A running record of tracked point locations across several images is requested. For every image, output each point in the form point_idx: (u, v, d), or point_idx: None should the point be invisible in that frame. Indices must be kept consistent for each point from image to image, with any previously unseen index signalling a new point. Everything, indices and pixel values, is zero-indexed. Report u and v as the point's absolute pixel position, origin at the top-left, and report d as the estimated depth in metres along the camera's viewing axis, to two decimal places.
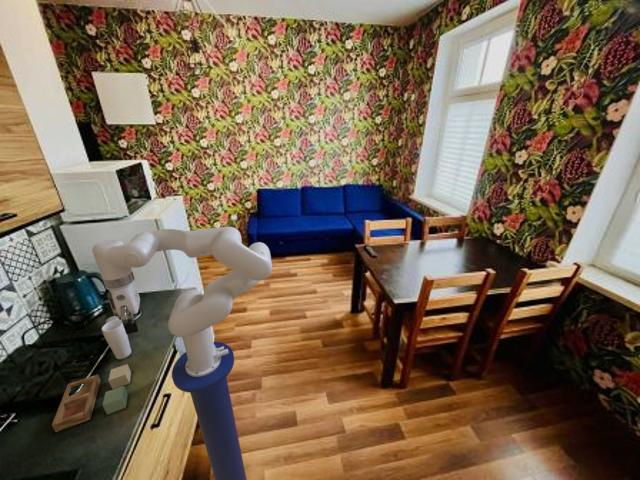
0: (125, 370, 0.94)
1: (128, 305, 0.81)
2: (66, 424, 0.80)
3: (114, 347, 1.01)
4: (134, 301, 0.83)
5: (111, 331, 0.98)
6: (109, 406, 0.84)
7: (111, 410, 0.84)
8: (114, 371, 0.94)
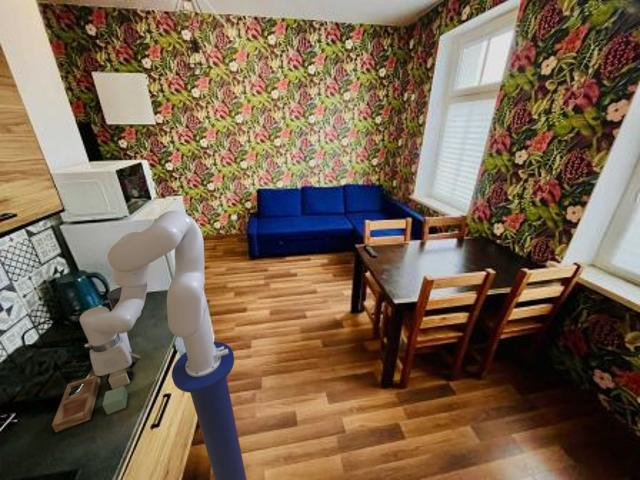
0: (125, 370, 0.94)
1: None
2: (66, 424, 0.80)
3: None
4: (98, 366, 0.87)
5: None
6: (109, 406, 0.84)
7: (111, 410, 0.84)
8: None
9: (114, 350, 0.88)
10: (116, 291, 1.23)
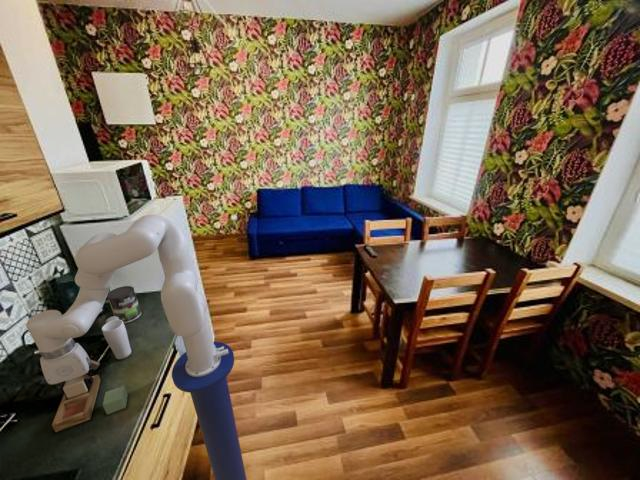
0: (82, 378, 0.88)
1: None
2: (66, 424, 0.80)
3: (114, 347, 1.01)
4: (49, 374, 0.81)
5: (111, 331, 0.98)
6: (109, 406, 0.84)
7: (111, 410, 0.84)
8: (70, 379, 0.88)
9: (68, 357, 0.82)
10: (116, 291, 1.23)
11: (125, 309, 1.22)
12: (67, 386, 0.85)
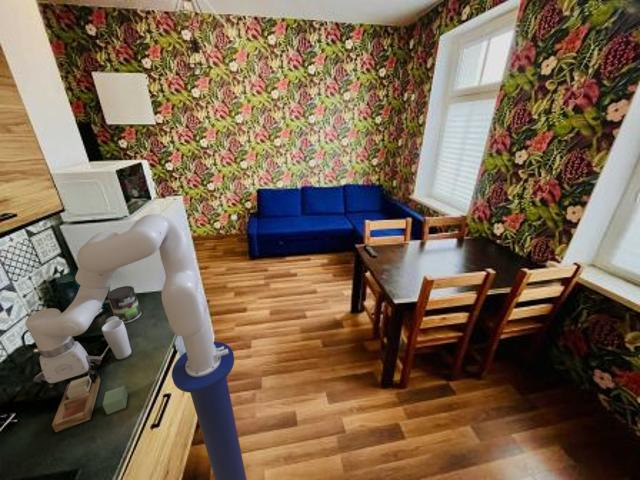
0: (86, 382, 0.89)
1: None
2: (66, 424, 0.80)
3: (114, 347, 1.01)
4: (49, 373, 0.81)
5: (112, 331, 0.98)
6: (109, 406, 0.84)
7: (111, 410, 0.84)
8: (74, 383, 0.89)
9: (67, 355, 0.82)
10: (116, 291, 1.23)
11: (125, 309, 1.22)
12: (70, 391, 0.86)
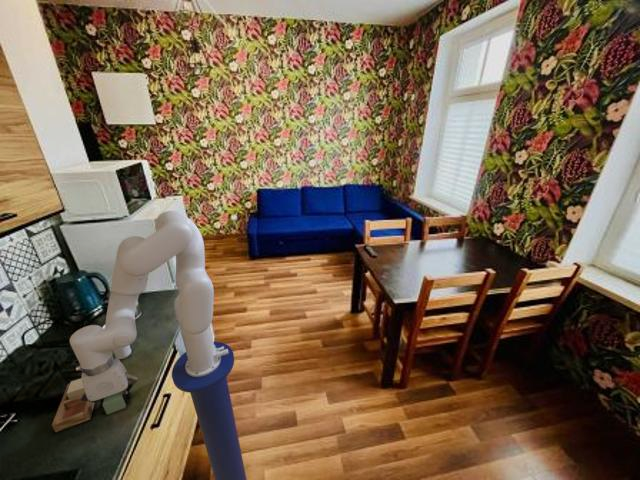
0: None
1: None
2: (66, 424, 0.80)
3: None
4: (90, 391, 0.79)
5: None
6: (109, 406, 0.84)
7: (111, 410, 0.84)
8: (74, 383, 0.89)
9: (108, 373, 0.80)
10: None
11: None
12: (70, 391, 0.86)
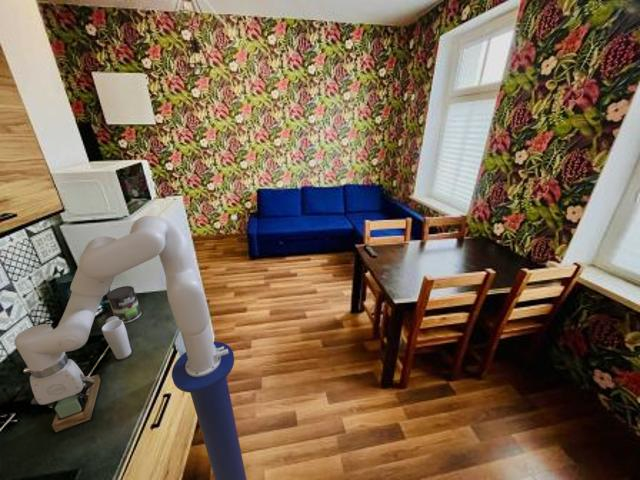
0: None
1: None
2: (66, 424, 0.80)
3: (114, 347, 1.01)
4: (40, 394, 0.75)
5: (112, 331, 0.98)
6: (62, 409, 0.80)
7: (65, 414, 0.81)
8: None
9: (60, 375, 0.76)
10: (116, 291, 1.23)
11: (125, 309, 1.22)
12: None
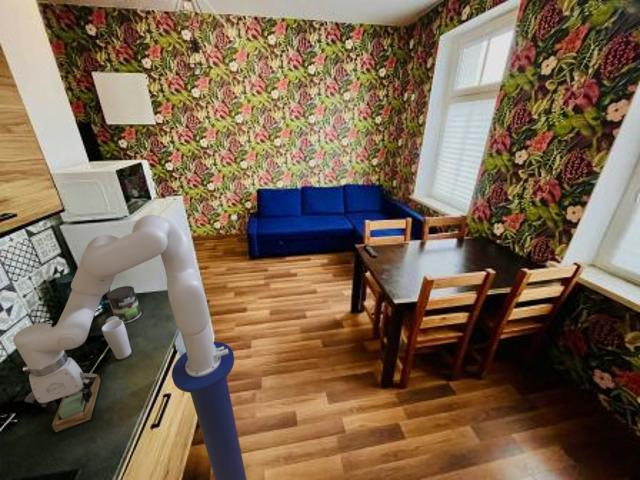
0: None
1: None
2: (66, 424, 0.80)
3: (114, 347, 1.01)
4: (39, 392, 0.75)
5: (112, 331, 0.98)
6: (66, 414, 0.81)
7: None
8: None
9: (59, 373, 0.76)
10: (116, 291, 1.23)
11: (125, 309, 1.22)
12: None
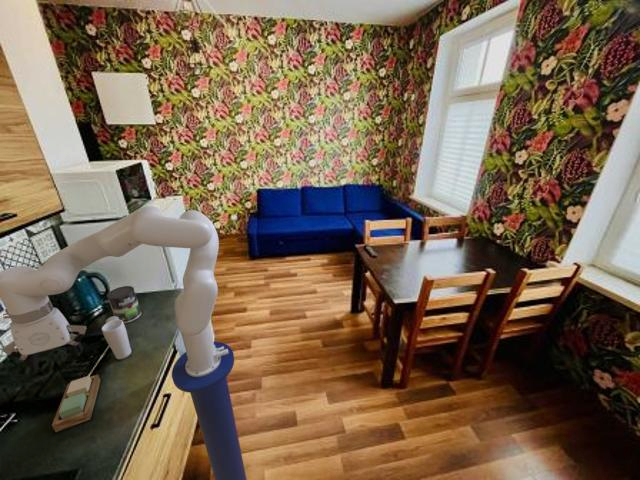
0: (86, 382, 0.89)
1: None
2: (66, 424, 0.80)
3: (114, 347, 1.01)
4: (22, 343, 0.69)
5: (111, 331, 0.98)
6: (66, 414, 0.81)
7: None
8: (74, 383, 0.89)
9: (43, 322, 0.70)
10: (116, 291, 1.23)
11: (125, 309, 1.22)
12: (70, 391, 0.86)
